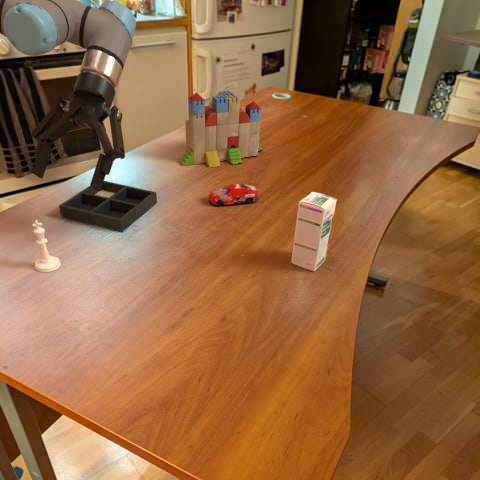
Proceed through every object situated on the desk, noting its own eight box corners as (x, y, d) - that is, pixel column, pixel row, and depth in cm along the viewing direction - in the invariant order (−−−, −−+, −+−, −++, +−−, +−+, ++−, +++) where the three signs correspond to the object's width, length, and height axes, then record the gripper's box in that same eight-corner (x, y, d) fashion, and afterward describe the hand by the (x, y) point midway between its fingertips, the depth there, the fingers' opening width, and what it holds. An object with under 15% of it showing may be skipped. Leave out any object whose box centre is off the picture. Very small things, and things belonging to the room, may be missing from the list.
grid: (61, 216, 108) (58, 205, 106) (101, 190, 120) (99, 179, 118) (122, 232, 104) (120, 220, 102) (157, 202, 116) (156, 192, 114)
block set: (253, 144, 152) (257, 80, 140) (273, 159, 142) (279, 92, 130) (171, 153, 142) (168, 85, 130) (186, 170, 132) (185, 99, 120)
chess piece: (34, 260, 94) (22, 216, 87) (59, 257, 95) (49, 213, 89) (35, 274, 90) (22, 228, 84) (61, 270, 92) (51, 225, 85)
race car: (210, 208, 116) (210, 193, 113) (205, 198, 120) (205, 184, 117) (260, 203, 119) (261, 189, 116) (254, 194, 123) (255, 180, 120)
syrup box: (314, 272, 96) (326, 208, 86) (289, 263, 98) (298, 199, 89) (325, 260, 100) (338, 198, 90) (301, 251, 102) (311, 190, 92)
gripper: (160, 102, 93) (129, 201, 91) (56, 85, 99) (25, 177, 97) (145, 79, 85) (111, 186, 84) (33, 61, 91) (0, 161, 90)
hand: (65, 182), depth 91 cm, fingers open, 13 cm apart
